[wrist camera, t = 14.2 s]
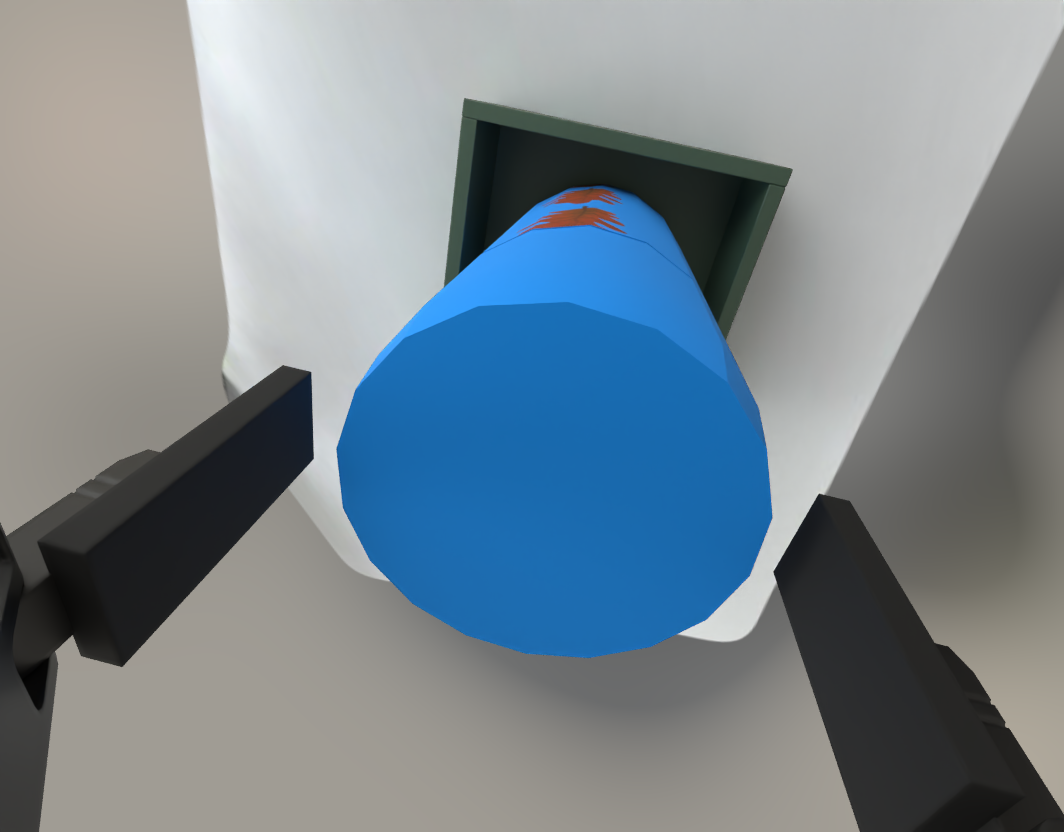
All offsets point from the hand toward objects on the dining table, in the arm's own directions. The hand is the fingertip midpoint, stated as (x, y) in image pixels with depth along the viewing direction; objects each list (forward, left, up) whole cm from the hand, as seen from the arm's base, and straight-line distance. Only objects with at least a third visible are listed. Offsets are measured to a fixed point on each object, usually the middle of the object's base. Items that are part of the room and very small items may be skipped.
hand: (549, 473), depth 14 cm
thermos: (0, 0, -24) cm, 24 cm away
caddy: (0, 0, -25) cm, 25 cm away
